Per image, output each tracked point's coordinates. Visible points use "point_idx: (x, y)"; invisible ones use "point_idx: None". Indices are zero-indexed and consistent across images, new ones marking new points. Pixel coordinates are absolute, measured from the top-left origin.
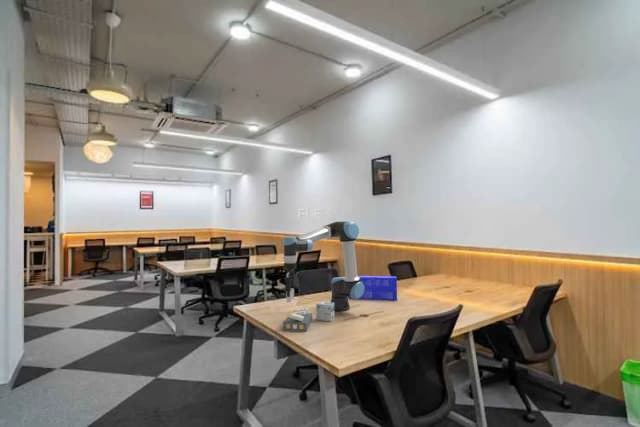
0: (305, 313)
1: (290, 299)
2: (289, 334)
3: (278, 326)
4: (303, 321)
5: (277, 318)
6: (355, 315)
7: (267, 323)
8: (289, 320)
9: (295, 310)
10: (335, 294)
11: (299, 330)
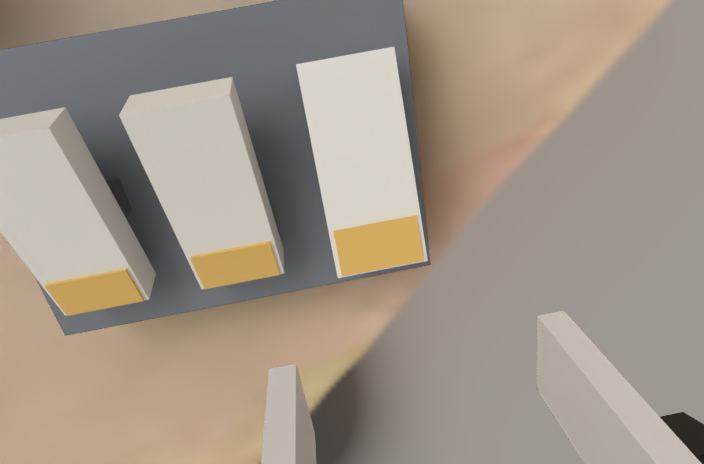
0: (179, 87)
1: (599, 356)
2: (500, 131)
3: (319, 310)
4: (351, 46)
5: (114, 411)
6: None
7: None
8: None
9: (108, 281)
10: None
11: None
